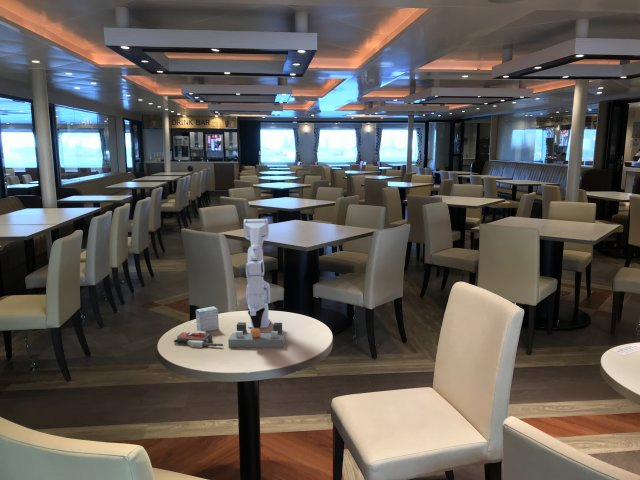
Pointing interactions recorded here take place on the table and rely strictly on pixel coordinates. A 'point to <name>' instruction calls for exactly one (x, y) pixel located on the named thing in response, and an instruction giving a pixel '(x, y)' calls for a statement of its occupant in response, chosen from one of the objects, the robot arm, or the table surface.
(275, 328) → the plug
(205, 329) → the medicine box
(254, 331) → the orange rectangular block
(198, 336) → the walkie-talkie
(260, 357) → the table surface
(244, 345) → the power strip
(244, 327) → the plug
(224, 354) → the table surface
